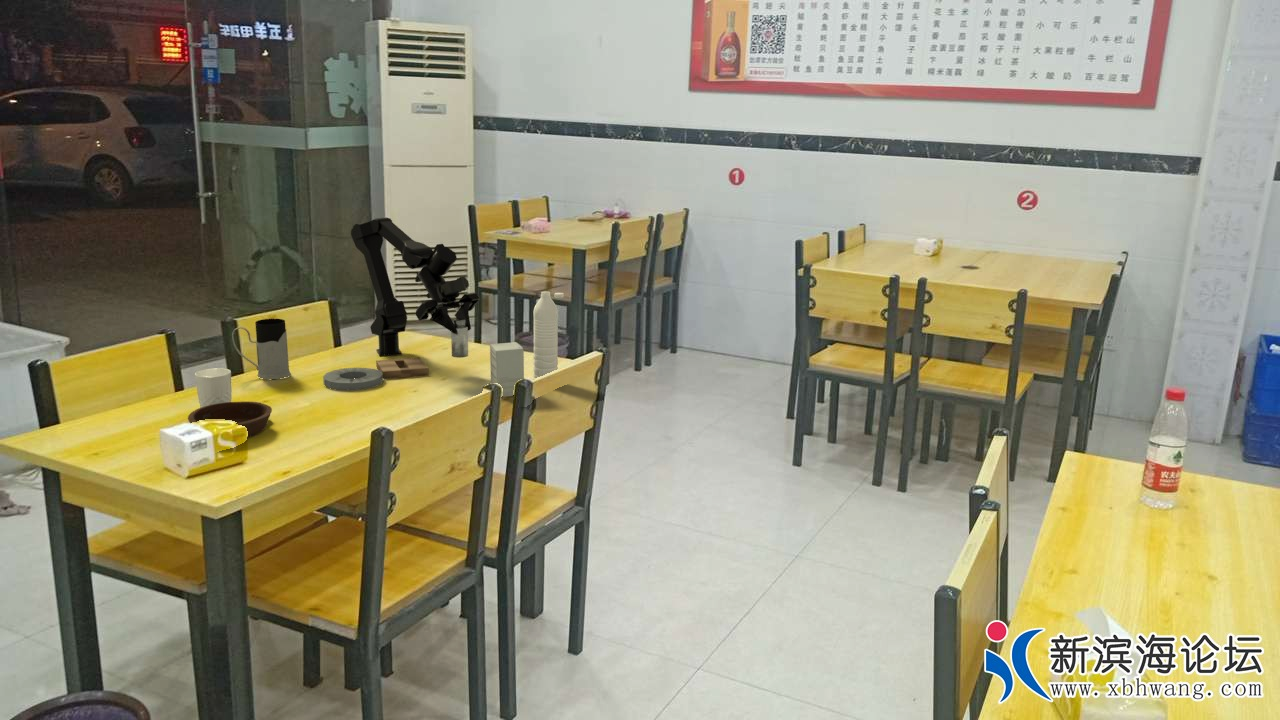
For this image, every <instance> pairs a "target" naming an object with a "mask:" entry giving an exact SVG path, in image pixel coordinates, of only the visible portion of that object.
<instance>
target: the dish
mask: <svg viewBox="0 0 1280 720" xmlns="http://www.w3.org/2000/svg"><path fill="white" fill-rule="evenodd" d="M272 411H273V409H272V407H271V406H270V405H268V404H265V403H262V402H258V401H244V400H243V401H231V402H226V403H218V404H213V405H208V406H204V407H201V408H200V407H199V408H196V409H195V410H192V411H191V412H190V413H189V415H187V419H188V422H189V423H190V424H191V423H192V422H197V421H199V420H205V419H225V420H232V421H235V422H237V423H236V424H238V425H242V426H245V427H246V428H247V431H248V438H251V437H254V436H256V435H258V434H260V433H262V432H264V430H265V429H266V428H267V426H268V423H269V422H268V421H269V418H270V417H271V413H272ZM250 436H251V437H250Z"/></svg>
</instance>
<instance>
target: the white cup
mask: <svg viewBox="0 0 1280 720" xmlns="http://www.w3.org/2000/svg"><path fill="white" fill-rule="evenodd" d="M194 377H195V385H196V391H197V397H198V398H197V399H198V403H199V406H200V407H199V408H201V407H204V406H208V405H213V404H218V403H226V402H232V398H233V397H232V393H233V392H232V389H233V388H232V371H231V369H228V368H221V367H217V368H216V367H215V368H214V367H212V368H206V369H202V370H198V371H196V372H195V373H194Z"/></svg>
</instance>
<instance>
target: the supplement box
mask: <svg viewBox="0 0 1280 720" xmlns="http://www.w3.org/2000/svg"><path fill="white" fill-rule="evenodd" d="M524 353H525V351H524V348H523V346H521V345H520V344H519V343H518V342H517V341H516V342H515V341H514V342H513V341H512V342H503V343H499V342H498V343H490V344H489V355H490V356H489V357H490V358H489V360H490V384H491V383H498V384H500V385H501V386H502V388H503V397H502V398H506V397H514V396H513V390H514V385H515V383H516V382H517V381H518V380H520V379H524V380H525V366H524V365H525V364H524V363H525V362H524V361H525V359H524V358H525V356H524V355H525V354H524Z"/></svg>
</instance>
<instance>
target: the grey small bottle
mask: <svg viewBox="0 0 1280 720" xmlns="http://www.w3.org/2000/svg"><path fill="white" fill-rule="evenodd" d="M452 322H453V323H454V325H455V327H456V330H457V332H456V333H455V334H454V333H453V332H451V331H450V333H451V334H450V337H451V341H450V342H451V344H450V345H451V357H453V358H456V359H457V358H459V359H461V358H466V357H469V331H468V326H465V319H457V318H454V319H453V320H452Z"/></svg>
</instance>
